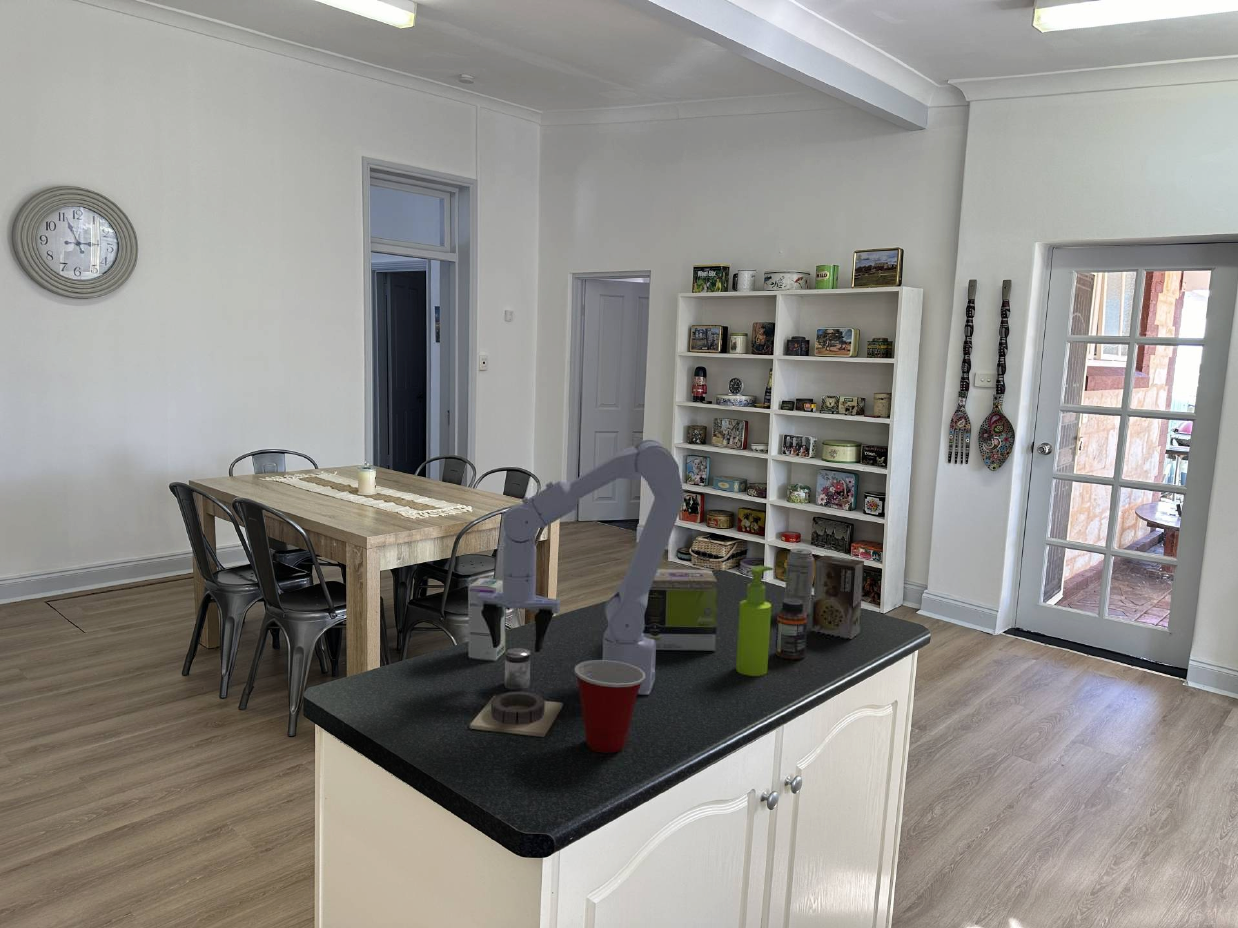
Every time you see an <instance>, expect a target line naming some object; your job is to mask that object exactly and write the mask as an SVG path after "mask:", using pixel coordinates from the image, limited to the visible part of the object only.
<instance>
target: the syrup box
mask: <svg viewBox="0 0 1238 928" xmlns="http://www.w3.org/2000/svg"><path fill="white" fill-rule="evenodd" d="M467 589H468V590H467V593H468V595H467V597H468V601H467V602H468V603H467V604H468V605H467V607H468V608H467V609H468V614H467V615H468V617H467V618H468V619H467V621H468V627H467V628H468V629H467V630H468V631H467V632H468V645H467V646H468V657H469V658H470V659H476V660H482V661H483V660H484V661H495V662H496V661H497V660H498V658H499V657H501V656H502V655H503V654H505V652H506V651H507V650H506V649H507V647H506V646H507V645H506V644H507V641H506V640H507V631H506V629H507V628H506V627H507V624H506V623H507V608H506V607H503V609H502V616H501V642H500V645H499V646H498V647H497V648H493V643H492V638H491V635H490V631H489V629H488V626H487V624H486V622H485V620H484V618H483V616H482V614H481V611H482V610H483V606H477V597H478V595H479V594H480V593H503V579H497V578H490V577H487V578H486V577H484V578H481V577H480V578H478V579H477V580H476V581H474V582H473V583H471V584H470V585H468V587H467Z"/></svg>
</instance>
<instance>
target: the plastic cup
mask: <svg viewBox="0 0 1238 928" xmlns="http://www.w3.org/2000/svg"><path fill="white" fill-rule="evenodd" d="M574 674H575V675H576V678H577V684H578V691H579V696H580V703H581V712H582V721H583V726H584V732H585V739H586V742H587V746H588V747H589V749H591V750H593V751H594V752H597V753H602V754H612V753H618V752H620V751H622V749H624V748H625V746H626V743H627V738H628V732H629V730H630V727H631V723H632V718H633V713H634V709H635V704H636V701H637V697H638V695H639V694H638V690H639V689H640V685H641V683H642V682H643V681H644V680H645V673H644V672H643V671H642V670H641V669H639V668H637V667H635V666H632V665H630V664H626V663H622V662H617V661H608V660H603V659H595V660H592V659H591V660H587V661H586V660H585V661H582V662H579V663H578V664H577V665H575V666H574Z"/></svg>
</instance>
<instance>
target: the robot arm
mask: <svg viewBox="0 0 1238 928" xmlns="http://www.w3.org/2000/svg"><path fill="white" fill-rule="evenodd" d="M637 473H638V474H639V475H640V477H642V478H643V479H644V481H645V482H646V483H647V484H648V487H649V489H650V490H651V493H652V495H653V497H654V498H653V499H654V500H653V502H652V505H651V507H650V510H649V513H648V514H647V518H646V521H645V522H644V525H643V528H642V531H641V533H640V536H639V538H638V541H637V544H636V547H635V550H634V552H633V554H632V557H631V559H630V562H629V565H628V567H627V570H626V573H625V575H624V578H623V579H622V581H621V582H620V583H619V585H618V587H617V590H616V591H615V592H614V594H613V595H612V596H611V597H610V598H609V599H608V600H607V602H606V604H605V606H604V615H605V618H606V619H607V623H608V626H607V627H606V629H605V631H603V639H602V640H603V641H602V660H608V661H617V662H622V663H626V664H630V665H632V666H635V667H637V668H639V669H641V670H642V671H643V672H644V673H645V680H644V681H643V682H642V683H641V685H640V689H639V690H638V694H637V695H643V696H644V695H645V696H649V695H650V693H651V691H652V688H653V686H654V682H655V679H656V670H655V669H656V653H657V652H656V651H657V650H656V642H655V640H653V639H649V638H646V637H644V634H643V631H644V627H645V622H644V614H645V611H646V608H647V602H648V594H649V590H650V587H651V585H652V582H653V580H654V577H655V574H656V572H657V569H659V566H660V564H661V561H662V559H663V556H664V554H665V551H666V549H667V546H668V543H669V540H670V538H671V535H672V533H673V530H674V528H675V525H676V522H677V519H678V518H679V514H680V512H681V510H682V507H683V504H684V501H685V494H684V489H683V484H682V479H681V475H680V467H679V464H678V462H677V460H676V459H675V458H674V456H673V454H672V453H671V452H670V451H669V449H668V448H666V447H665V446H663V444H661V443H660V442H659V441H657V440H655V439H646V440H642V441H640V442H639V443H637V444H636V445H635V446H634V445H632V446H629V447H627V448H625V449H623V450H621V451H620V452H618V453H615V454H614V455H613V456H611V457H609V458H608V459H605V461H603V462H601V463H599V464H598V465H596V466H595V467H593V468H592V469H589V470H588V471H587V472H585V473H584V474H582V475H580V476H579V477H578V478H576V479H574V480H573V481H571V482H565V481H561V480H559V481H557V482H555V483H554V482H553V481H549V482H547V483H546V484H545V489H543V490H541V491H539V492H537V493H535V494H534V495H532V496H531V497H529V498H528V497H527V496H525V497H524V498H522V500H521V501H522V502H521V503H516V504H513V505H512V506H510V507H509V508H508V509H507V511H506V512H505V515H504V518H503V528H504V529H503V530H504V532H505V536H504V540H503V542H504V546H503V553H502V554H503V555H502V556H503V557H502V558H503V561H502V562H503V563H502V566H503V567H502V580H503V593H480V594H479V595H478V597H477V606H483V610H482V611H481V614H482V616H483V618H484V620H485V622H486V624H487V626H488V629H489V631H490V635H491V638H492V643H493V648H497V647H498V646H499V645H500V642H501V616H502V609H503V607H506V609H507V608H509V609H516V610H517V609H519V610H529V611H530V610H531V611H538V612H536V614H535V615H534V626H535V642H534V652H535V653H540V652H541V650H542V649H543V644H544V639H545V637H546V633H547V630H548V628H549V625H550V623H551V621H552V619H553V618H554V615H555V614H558V613H559V612H560V611H561V599H557V598H550V597H545V596H540V595H536V586H537V585H536V583H537V582H536V580H537V552H538V551H537V546H536V535H537V534H538V530H539V529H540V528H546V527H548V526H549V525H551V524H553V523H555V522H557V521H558V520H560V519H562V518H563V517H565V516H566V515H568V514H570V513H572V512H574V511H575V510H576V509H577V507H578V503H579V502H578V501H579V500H580V499H582V498H584V497H586V496H587V495H589V494H592V493H593V492H595V491H597V490H599V489H601V488H603V487H605V486H606V485H608V484H611V483H613V482H614V481H616V480H619V479H629V480H637V479H638V477H637Z"/></svg>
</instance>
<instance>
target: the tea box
mask: <svg viewBox="0 0 1238 928" xmlns="http://www.w3.org/2000/svg"><path fill="white" fill-rule="evenodd" d="M718 585H719V582H718V580H717V578H716V577H715V575H714V573H713V572H712V569H699V568H698V569H696V568H695V569H691V568H689V569H688V568H687V569H686V568H685V569H684V568H683V569H682V568H678V569H677V568H658V569H657V572H656V574H655V577H654V580H653V582H652V585H651V587H650V590H649V594H648V602H647V608H646V611H645V614H644V622H645V627H644V631H643V634H644V637H646V638H649V639H653V640H655V642H656V651H657V650H658V651H661V650H662V651H712V652H714V651H716V650H717V649H716V647H717V625H718V624H717V621H718V595H719V593H718V592H719V591H718V587H719V586H718Z"/></svg>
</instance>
